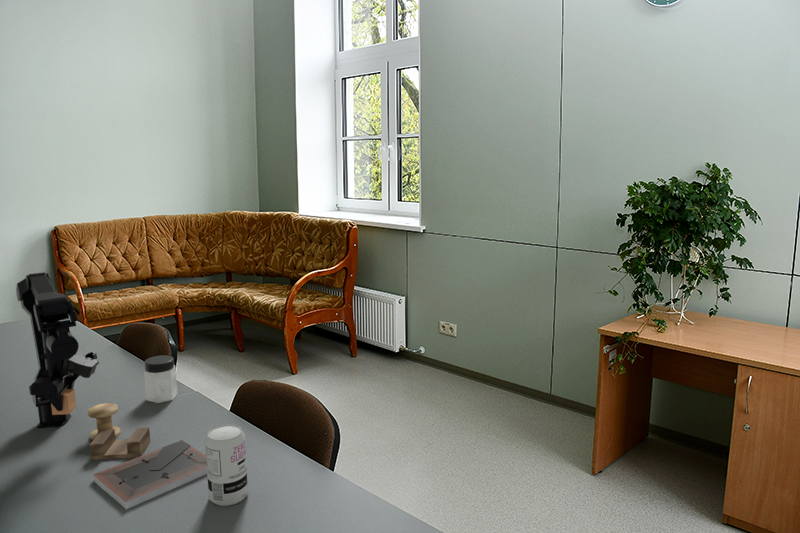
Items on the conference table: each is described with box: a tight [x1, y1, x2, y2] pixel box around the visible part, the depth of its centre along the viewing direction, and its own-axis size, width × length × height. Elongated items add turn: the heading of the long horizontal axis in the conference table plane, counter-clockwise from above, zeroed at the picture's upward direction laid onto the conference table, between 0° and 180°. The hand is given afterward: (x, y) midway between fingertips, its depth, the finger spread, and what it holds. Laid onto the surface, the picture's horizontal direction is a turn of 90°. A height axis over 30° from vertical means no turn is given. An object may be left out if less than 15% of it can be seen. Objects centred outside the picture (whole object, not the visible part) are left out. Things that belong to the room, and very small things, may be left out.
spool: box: [87, 402, 121, 441], centre depth 158 cm, size 7×7×8 cm
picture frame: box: [92, 439, 207, 510], centre depth 140 cm, size 16×2×22 cm
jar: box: [143, 355, 178, 404], centre depth 182 cm, size 9×8×12 cm
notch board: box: [89, 426, 151, 461], centre depth 151 cm, size 12×8×4 cm
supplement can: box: [204, 424, 249, 507], centre depth 130 cm, size 8×8×15 cm
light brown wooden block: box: [51, 388, 77, 415], centre depth 151 cm, size 4×4×5 cm
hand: (64, 406), depth 151 cm, fingers closed on light brown wooden block, 4 cm apart
